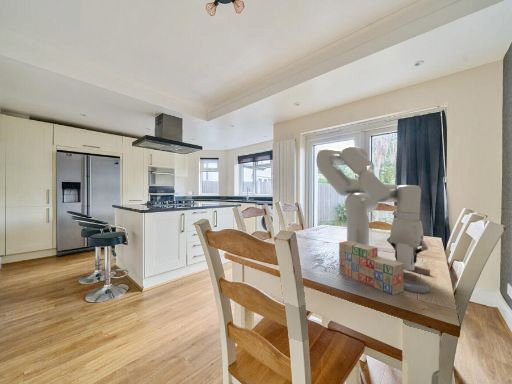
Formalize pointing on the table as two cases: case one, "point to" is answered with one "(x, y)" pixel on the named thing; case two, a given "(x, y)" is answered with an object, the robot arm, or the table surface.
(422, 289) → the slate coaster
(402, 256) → the white cylinder
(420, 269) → the walnut rack
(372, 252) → the stack of blocks
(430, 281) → the table surface
